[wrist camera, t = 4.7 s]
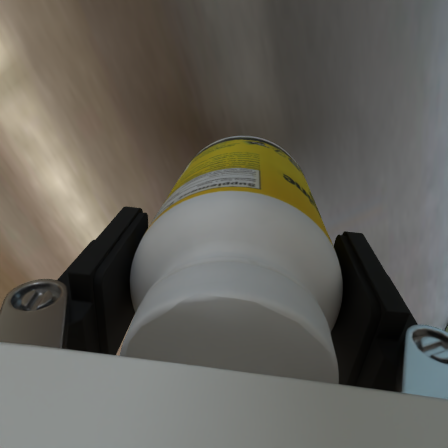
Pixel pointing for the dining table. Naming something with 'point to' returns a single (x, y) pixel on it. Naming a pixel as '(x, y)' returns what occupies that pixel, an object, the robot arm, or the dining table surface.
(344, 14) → the dining table surface
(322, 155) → the dining table surface
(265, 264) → the pill bottle
